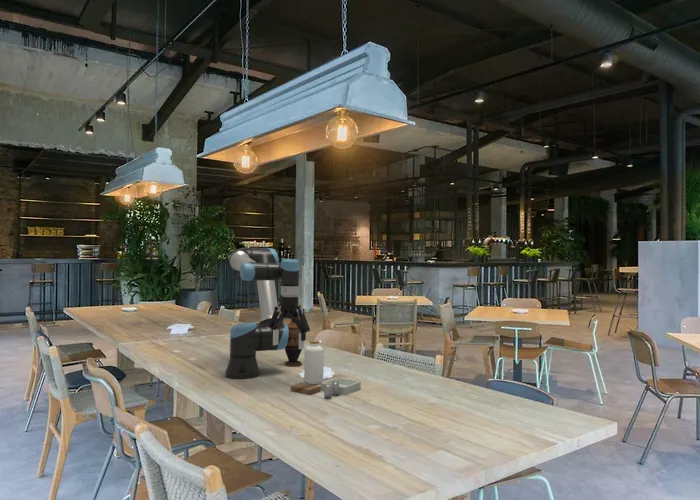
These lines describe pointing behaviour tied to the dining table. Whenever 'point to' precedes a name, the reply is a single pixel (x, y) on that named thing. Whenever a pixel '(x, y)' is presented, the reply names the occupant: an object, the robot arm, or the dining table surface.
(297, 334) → the vase
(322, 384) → the tray
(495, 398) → the dining table surface
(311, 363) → the potion bottle
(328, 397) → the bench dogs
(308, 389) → the tan wooden board
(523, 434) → the dining table surface
